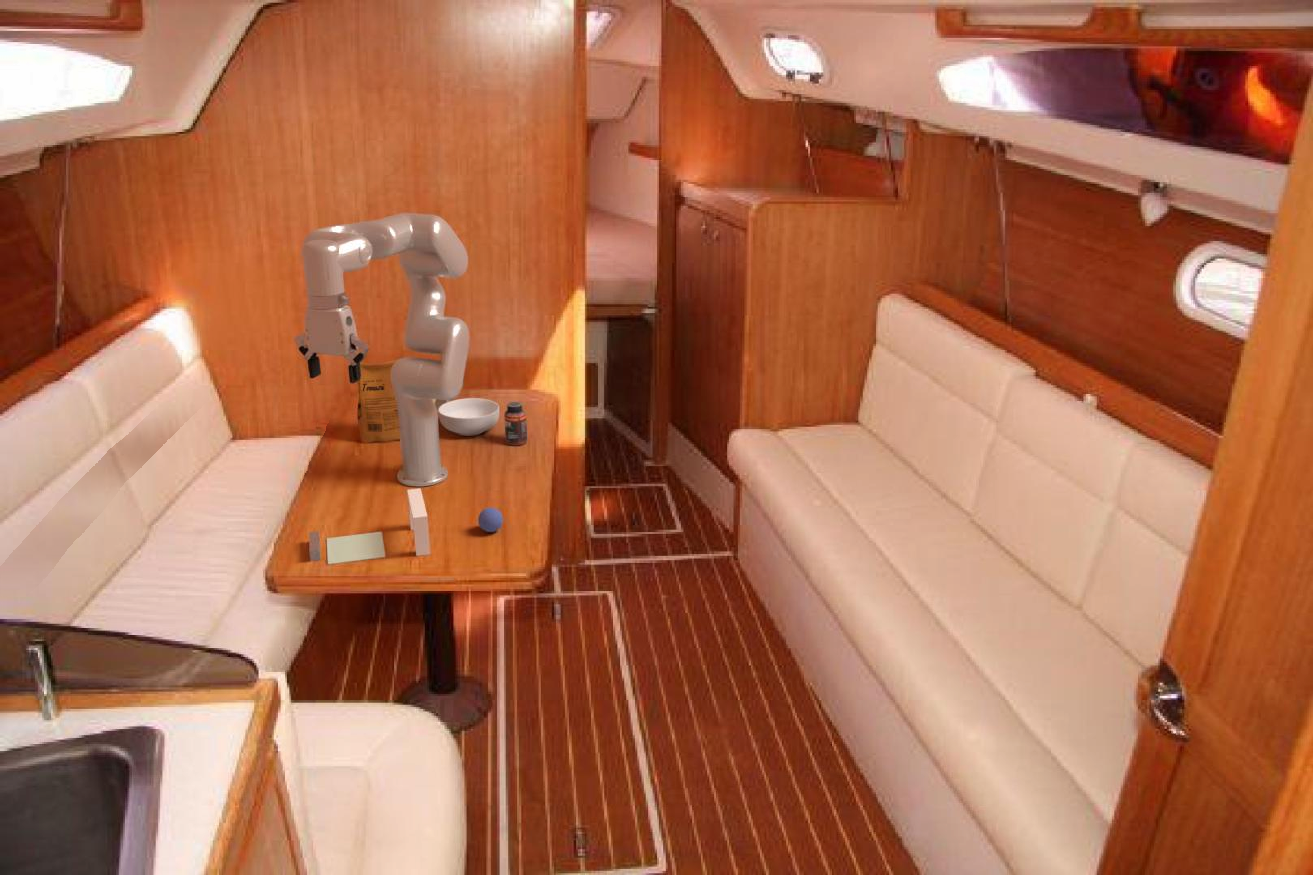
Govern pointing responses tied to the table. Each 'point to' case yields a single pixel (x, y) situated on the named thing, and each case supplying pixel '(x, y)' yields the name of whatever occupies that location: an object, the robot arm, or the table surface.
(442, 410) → the cereal bowl
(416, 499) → the bridge
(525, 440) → the supplement bottle
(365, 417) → the coffee package
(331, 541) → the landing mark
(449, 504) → the table surface
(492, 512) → the ball
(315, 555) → the wall
